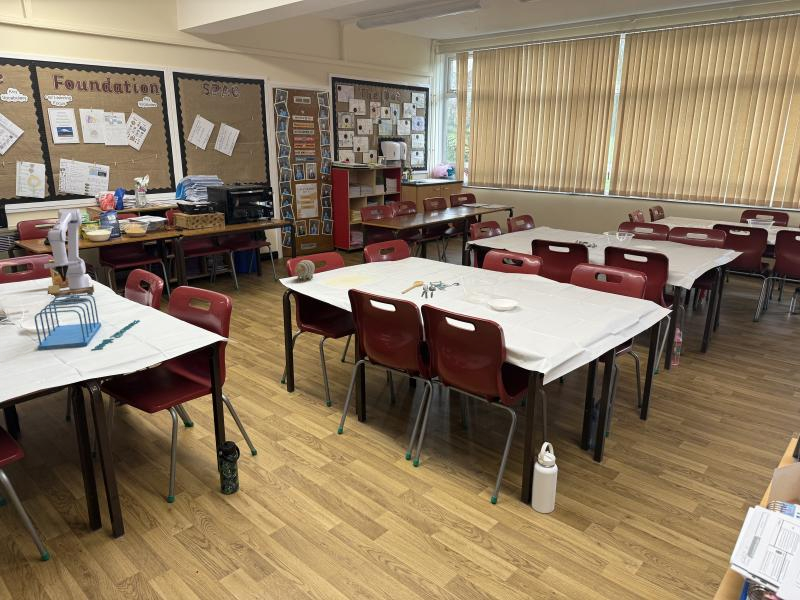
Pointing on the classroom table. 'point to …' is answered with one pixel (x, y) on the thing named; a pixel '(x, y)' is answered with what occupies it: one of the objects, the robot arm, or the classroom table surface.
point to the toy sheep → (305, 269)
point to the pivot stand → (72, 298)
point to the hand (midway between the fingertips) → (64, 280)
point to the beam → (75, 291)
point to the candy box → (57, 277)
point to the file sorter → (68, 327)
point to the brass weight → (53, 289)
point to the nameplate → (115, 336)
